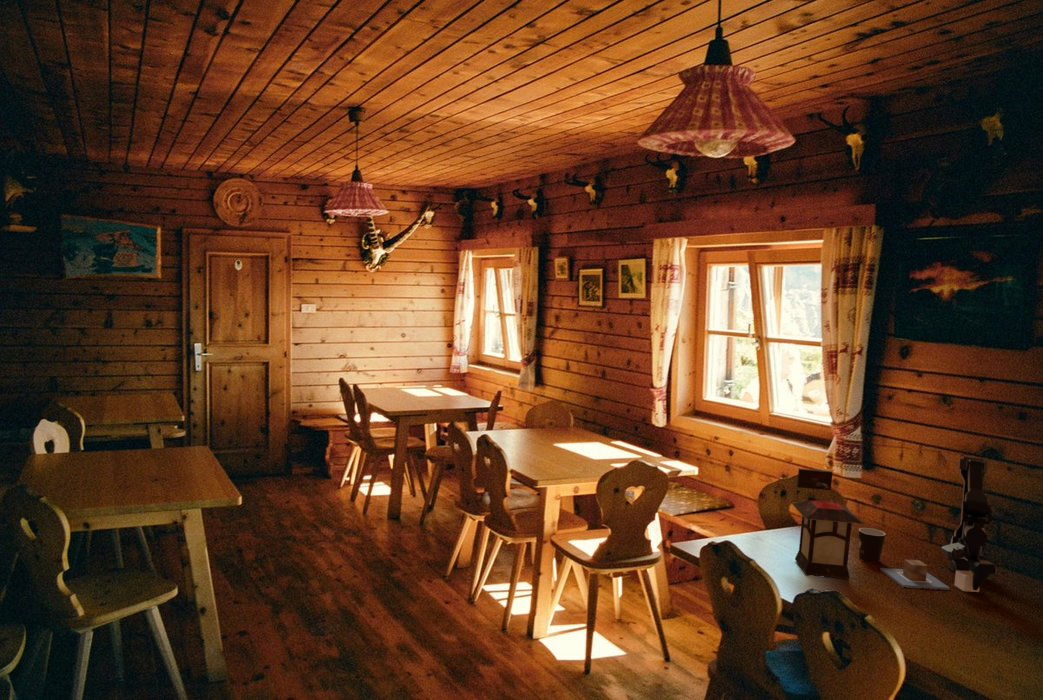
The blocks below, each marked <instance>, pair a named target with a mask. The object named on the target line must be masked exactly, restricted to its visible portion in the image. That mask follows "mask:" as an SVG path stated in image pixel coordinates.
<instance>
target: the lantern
mask: <svg viewBox="0 0 1043 700" xmlns="http://www.w3.org/2000/svg"><path fill="white" fill-rule="evenodd" d="M797 472H798V473H797V482H796V487H797V488H799V489H800V488H802V489H813V490H821V493H820V495H819V498H818V500H807V501H806V500H805V501H797V502H791V505H792V506H793V507H794V508H795V509H796V511H797V512H798V513H799V514H800V515H801V526H800V527H801V528H800V535H799V536H800V537H799V546H798V547H799V548H798V552H797V554H796V556H795V558H794V561H796V564H798V566H799V567H800V569H801V570H802V571H803V572H804V574H805V576H809V575H813V576H812V577H819V576H824V577H823V578H829V577H832V578H831V579H839V578H842V579H841V580H848V579H850V572H849V568H848V563H849V562H848V560H849V556H850V555H849V552H850V543H851V542H850V541H851V534H852V524H856V525H857V524H858V525H865V523H864V522H863V521H862V520H861V519H860V518H858V516H856V515H855V514H854V513H853V512H852V511H851V510H849V509H848V507H845V506H844V505H841V504H840V503H838V502H836V498H835V495H834V493H833V491H832V482H833V473H834V472H833V471H832V470H821V469H809V468H808V469H807V468H798V471H797ZM824 491H830V492H831V494H832V497H833V500H834V502H832V501H820V499H821V496H822V495H823V492H824Z"/></svg>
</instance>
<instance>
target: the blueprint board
mask: <svg viewBox="0 0 1043 700" xmlns="http://www.w3.org/2000/svg"><path fill="white" fill-rule="evenodd" d="M879 570H880V572H882V573H883V574H884V575H886V576H887V577H888V578H890V579H891V580H893V581H894V582H895V583H896V584H898V585H899V586H901V588H903V589H906V588H908V589H921V588H924V589H925V590H926V588H927V590H938V589H940V590H942V591H950V590H951V588H950V586H948V585H947V584H945V583H944V582H942V581H941V580H939V579H938V578H937V577H935V576H933V575H931V574H930V573H929V572H927V575H926V581H919V580H910V579H909V578H907V577H906V576H904V575H903V569H902V568H890V567H889V568H888V567H887V568H886V567H880V569H879ZM904 587H906V588H904ZM928 588H929V589H928ZM924 589H923V590H924Z"/></svg>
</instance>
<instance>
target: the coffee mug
mask: <svg viewBox="0 0 1043 700" xmlns="http://www.w3.org/2000/svg"><path fill="white" fill-rule="evenodd" d="M885 539H886V532H884V531H882V530H879V529H876V528H871V527H870V528H869V527H862V528H861V527H860V528H859V529H858V558H860V559H862V560H864V561H863V562H865V561H867V562H866V563H869V562H876V563H875V564H877V562H879V563H880V560H881V555H882V551H883V549H884V548H883V547H884V543H885ZM860 559H859V560H860ZM862 560H861V561H862Z"/></svg>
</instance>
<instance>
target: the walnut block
mask: <svg viewBox="0 0 1043 700" xmlns="http://www.w3.org/2000/svg"><path fill="white" fill-rule="evenodd" d="M927 573H928V565H927V564H925V563H924V562H923V561H921V560H919V559H904V560H903V575H904V576H906V577H907V578H909V579H910V580H919V581H926V575H927Z"/></svg>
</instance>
